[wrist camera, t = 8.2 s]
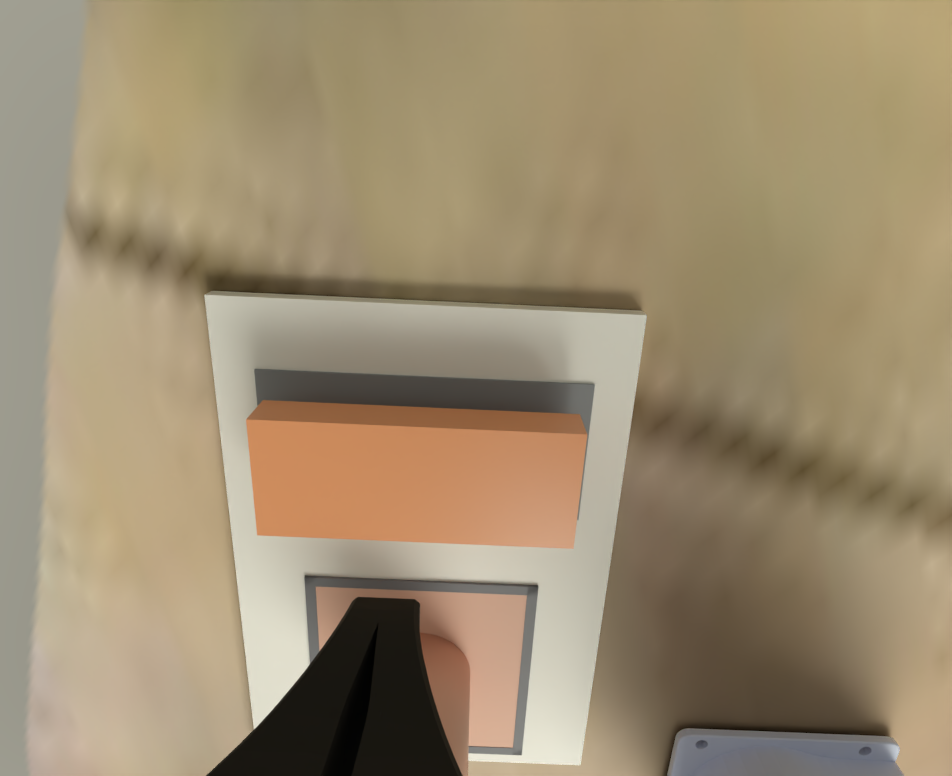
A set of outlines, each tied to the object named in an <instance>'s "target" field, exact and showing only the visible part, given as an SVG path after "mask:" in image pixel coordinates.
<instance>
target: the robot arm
mask: <svg viewBox="0 0 952 776" xmlns="http://www.w3.org/2000/svg"><path fill="white" fill-rule="evenodd" d="M899 750H900V748H899V746H898V744H897V743H896V741H895V740H894V739H893V738H891V737H888V736H869V735H845V734H820V733H795V732H770V731H745V730H720V729H695V728H686V729H682V730H680V731H679V732H678V733H677V735H676V737H675V742H674V746H673V751H672V755H671V760H670V765H669V769H668V774H667V776H904V774H903V773H902V771H901V770H900V768H899V767H898V765H897V764H896V763H895V761H896V759H897V756H898V754H899ZM206 776H463V775H462V773H461V771H460V769H459V766H458V764H457V762H456V759H455V757H454V755H453V752H452V749H451V747H450V744H449V742H448V739H447V737H446V734H445V731H444V728H443V726H442V723H441V720H440V717H439V714H438V710H437V707H436V704H435V701H434V697H433V694H432V690H431V687H430V683H429V679H428V675H427V670H426V666H425V662H424V657H423V652H422V646H421V638H420V603H419V602H418V601H417V600H416V599H401V598H376V597H357V598H355V599H354V600H353V601H352V603H351V604H350V606H349V608H348V609H347V611H346V613H345V614H344V616H343V618H342V619H341V621H340V622H339V624H338V625H337V627H336V628H335V630H334V631H333V633H332V634H331V636H330V637H329V639H328V640H327V642H326V643H325V644H324V646H323V647H322V649H321V650H320V651H319V653H318V654H317V655H316V657H315V658H314V659H313V661H312V662H311V663H310V665H309V666H308V667H307V669H306V670H305V671H304V673H303V674H302V675H301V676H300V678H299V679H298V680H297V681H296V682H295V684H294V685H293V686H292V687H291V688H290V690H289V691H288V692H287V693H286V694H285V696H284V697H283V698H282V699H281V700H280V702H279V703H278V704H277V705H276V706H275V707H274V709H273V710H272V711H271V712H270V713H269V714H268V715H267V716H266V717H265V718H264V720H263V721H262V722H261V723H260V724H259V725H258V726H257V727H256V728H255V729H254V730H253V731H252V732H251V733H250V734H249V735H248V736H247V737H246V738H245V739H244V740H243V741H242V742H241V743H240V744H239V745H238V746H237V747H236V748H235V749H234V750H233V751H232V752H231V753H230V754H229V755H228V756H227V757H226V758H225V759H224V760H222V761H221V762H220V763H219V764H218V765H217V766H216V767H215V768H214V769H213V770H212V771H211V772H210V773H208V774H207V775H206Z"/></svg>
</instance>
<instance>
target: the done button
mask: <svg viewBox="0 0 952 776" xmlns="http://www.w3.org/2000/svg"><path fill="white" fill-rule="evenodd" d="M246 425H247V435H248V446H249V456H250V466H251V477H252V487H253V497H254V508H255V518H256V528H257V535H260V536H283V537H307V538H330V539H354V540H377V541H400V542H424V543H447V544H471V545H494V546H518V547H541V548H565V549H574V541H575V533H576V525H577V516H578V508H579V500H580V492H581V483H582V475H583V467H584V458H585V450H586V442H587V432H586V429H585V427H584V424H583V421H582V419H581V416H580V414H564V413H542V412H519V411H497V410H475V409H452V408H430V407H407V406H385V405H362V404H340V403H317V402H295V401H273V400H263V401H262V402H261V403H260V404H259V405H258V406H257V407H256V409H255V410H254V411H253V412H252V413H251V414H250V415H249V417H248V418H247V419H246Z"/></svg>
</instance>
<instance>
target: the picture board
mask: <svg viewBox="0 0 952 776" xmlns="http://www.w3.org/2000/svg"><path fill="white" fill-rule="evenodd" d="M204 296H205V305H206V314H207V322H208V331H209V340H210V349H211V357H212V366H213V375H214V384H215V392H216V401H217V410H218V419H219V428H220V436H221V445H222V454H223V463H224V471H225V480H226V489H227V498H228V506H229V515H230V524H231V533H232V541H233V550H234V559H235V568H236V577H237V585H238V594H239V603H240V612H241V620H242V629H243V638H244V647H245V655H246V664H247V673H248V682H249V691H250V699H251V708H252V717H253V726H254V729H255V728H256V727H257V726H258V725H259V724H260V723H261V722H262V721H263V720H264V718H265V717H266V716H267V715H268V714H269V713H270V712H271V711H272V710H273V709H274V707H275V706H276V705H277V704H278V703H279V702H280V700H281V699H282V698H283V697H284V696H285V694H286V693H287V692H288V691H289V690H290V688H291V687H292V686H293V685H294V684H295V682H296V681H297V680H298V679H299V678H300V676H301V675H302V674H303V673H304V671H305V670H306V669H307V667H308V666H309V665H310V663H311V662H312V661H313V659H314V658H315V657H316V655H317V654H318V653H319V651H320V650H321V649H322V647H323V646H324V644H325V643H326V642H327V640H328V639H329V637H330V636H331V634H332V633H333V631H334V630H335V628H336V627H337V625H338V624H339V622H340V621H341V619H342V618H343V616H344V614H345V613H346V611H347V609H348V608H349V606H350V604H351V603H352V601H353V600H354V599H355V598H357V597H376V598H401V599H416V600H417V601H418V602H419V603H420V633H427V634H432V635H436V636H439V637H442V638H444V639H447V640H448V641H450V642H452V643H453V644H455V645H456V646H457V647H458V648H459V649H460V650H461V651H462V652H463V653H464V655H465V656H466V658H467V660H468V663H469V666H470V707H469V751H468V761H486V762H512V763H537V764H562V765H581V758H582V752H583V745H584V738H585V731H586V725H587V718H588V711H589V704H590V697H591V691H592V684H593V677H594V670H595V664H596V657H597V650H598V643H599V637H600V630H601V623H602V616H603V610H604V603H605V596H606V589H607V582H608V576H609V569H610V562H611V555H612V549H613V542H614V535H615V528H616V522H617V515H618V508H619V501H620V495H621V488H622V481H623V474H624V468H625V461H626V454H627V447H628V440H629V434H630V427H631V420H632V413H633V407H634V400H635V393H636V386H637V380H638V373H639V366H640V359H641V353H642V346H643V339H644V332H645V325H646V319H647V315H646V314H645V313H644V312H643V311H641V310H619V309H597V308H575V307H554V306H532V305H510V304H489V303H467V302H445V301H423V300H402V299H380V298H358V297H337V296H315V295H293V294H271V293H250V292H228V291H211V292H209V293H207V294H205V295H204ZM263 400H273V401H295V402H317V403H340V404H362V405H385V406H407V407H430V408H452V409H475V410H497V411H519V412H542V413H564V414H580V416H581V419H582V421H583V424H584V427H585V429H586V432H587V442H586V450H585V458H584V467H583V475H582V483H581V492H580V500H579V508H578V516H577V525H576V533H575V541H574V549H565V548H541V547H518V546H494V545H471V544H447V543H424V542H400V541H377V540H354V539H330V538H307V537H283V536H260V535H257V528H256V518H255V508H254V497H253V487H252V477H251V466H250V456H249V446H248V435H247V425H246V419H247V418H248V417H249V415H250V414H251V413H252V412H253V411H254V410H255V409H256V407H257V406H258V405H259V404H260V403H261V402H262V401H263Z"/></svg>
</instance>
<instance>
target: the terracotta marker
mask: <svg viewBox="0 0 952 776" xmlns="http://www.w3.org/2000/svg"><path fill="white" fill-rule="evenodd" d="M420 638H421V646H422V652H423V657H424V662H425V666H426V670H427V675H428V679H429V683H430V687H431V690H432V694H433V697H434V701H435V704H436V707H437V710H438V714H439V717H440V720H441V723H442V726H443V728H444V731H445V734H446V737H447V739H448V742H449V744H450V747H451V749H452V752H453V755H454V757H455V759H456V762H457V764H458V766H459V769H460V771H461V773H462V775H463V776H468V751H469V707H470V666H469V663H468V660H467V658H466V656H465V655H464V653H463V652H462V651H461V650H460V649H459V648H458V647H457V646H456V645H455V644H453V643H452V642H450V641H448V640H447V639H444V638H442V637H439V636H436V635H432V634H427V633H420Z"/></svg>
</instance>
